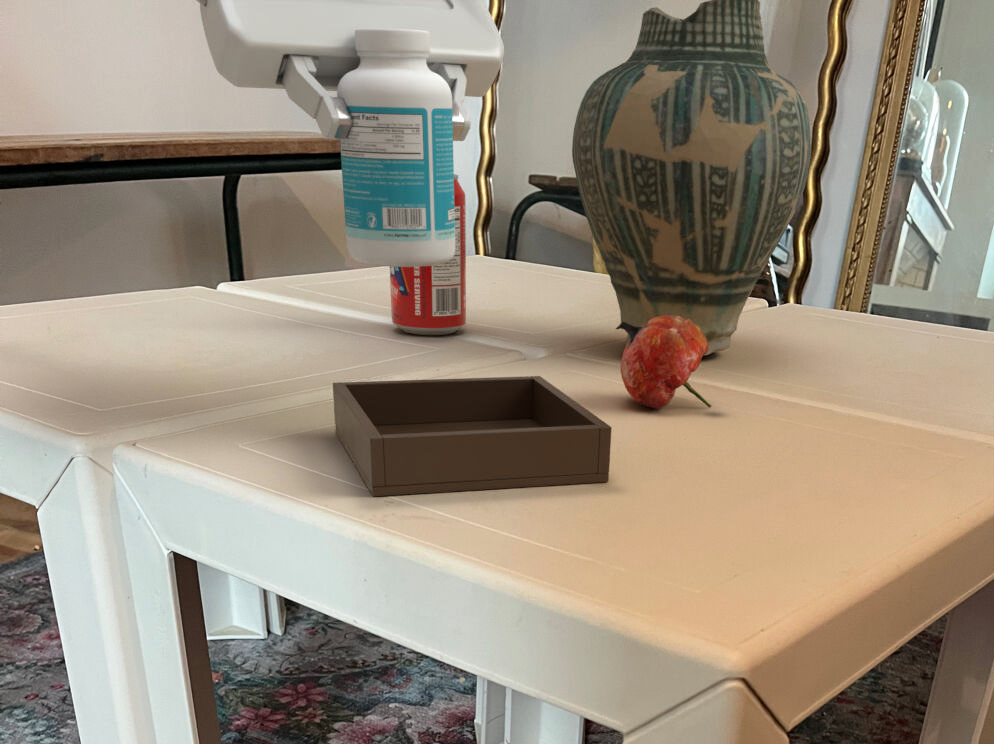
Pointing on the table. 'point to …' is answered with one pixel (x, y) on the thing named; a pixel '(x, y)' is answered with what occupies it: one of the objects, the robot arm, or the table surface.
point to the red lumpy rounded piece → (661, 358)
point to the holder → (468, 435)
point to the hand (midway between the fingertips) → (401, 133)
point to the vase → (691, 166)
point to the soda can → (433, 287)
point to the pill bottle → (397, 153)
